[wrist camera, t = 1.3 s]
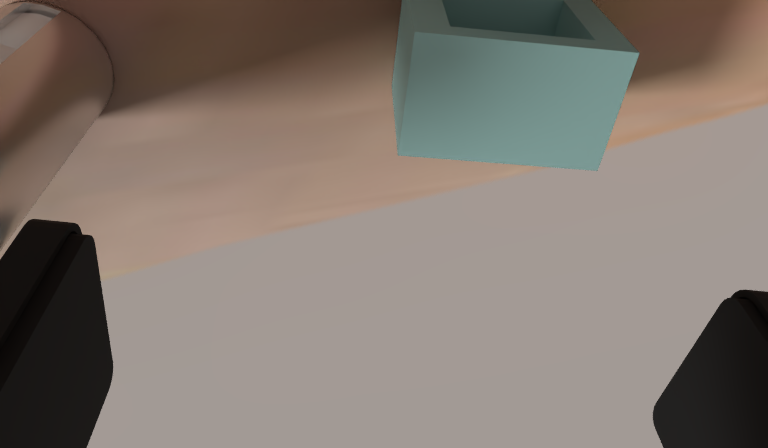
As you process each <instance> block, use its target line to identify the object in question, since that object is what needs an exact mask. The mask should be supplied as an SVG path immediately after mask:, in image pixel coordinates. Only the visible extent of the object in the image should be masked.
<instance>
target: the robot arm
mask: <svg viewBox="0 0 768 448" xmlns="http://www.w3.org/2000/svg"><path fill="white" fill-rule="evenodd" d="M112 374H113V360H112V354H111V347H110V341H109V334H108V327H107V320H106V314H105V307H104V300H103V294H102V287H101V281H100V274H99V267H98V261H97V254H96V248H95V242H94V239H93V237H92V236H90V235H82V233H81V229H80V227H79V226H78V224H76V223H69V222H59V221H49V220H39V219H32V220H29V221H28V222H27V223H26V224H25V225H24V226H23V228H22V229H21V231H20V232H19V234H18V235H17V236H16V238H15V239H14V241H13V242H12V244H11V245H10V246H9V248H8V249H7V251H6V252H5V254H4V255H3V257H2V258H1V259H0V448H86V447H87V445H88V442H89V440H90V437H91V435H92V432H93V429H94V427H95V424H96V421H97V419H98V417H99V414H100V411H101V409H102V406H103V404H104V401H105V399H106V396H107V393H108V391H109V388H110V385H111V380H112ZM653 421H654V426H655V429H656V431H657V434H658V436H659V438H660V440H661V443H662V445H663V447H664V448H768V292H763V291H753V290H739V291H737V292H735V293H734V294H733V295H732V296H731V298H727V299H726V300H724V301H723V302H722V303H721V304H720V306H719V307H718V309H717V310H716V312H715V314H714V315H713V317H712V318H711V320H710V321H709V323H708V324H707V326H706V327H705V329H704V330H703V332H702V333H701V335H700V336H699V338H698V340H697V341H696V343H695V344H694V346H693V347H692V349H691V350H690V352H689V353H688V355H687V356H686V358H685V360H684V361H683V363H682V364H681V366H680V367H679V369H678V370H677V372H676V373H675V375H674V376H673V378H672V379H671V381H670V382H669V384H668V386H667V387H666V389H665V390H664V392H663V393H662V395H661V396H660V398H659V399H658V401H657V403H656V405H655V406H654V411H653Z"/></svg>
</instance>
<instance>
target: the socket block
mask: <svg viewBox="0 0 768 448" xmlns="http://www.w3.org/2000/svg"><path fill="white" fill-rule="evenodd" d="M638 56H639V52H638V51H637V50H636V48H635V47H634V46H633V45H632V44H631V43H630V42H629V41H628V40H627V39H626V38H625V37H624V35H623V34H622V33H621V32H620V31H619V30H618V29H617V28H616V27H615V26H614V25H613V23H612V22H611V21H610V20H609V19H608V18H607V17H606V16H605V15H604V14H603V13H602V11H601V10H600V9H599V8H598V7H597V6H596V5H595V4H594V3H593V2H592V1H591V0H402V5H401V13H400V21H399V30H398V38H397V46H396V54H395V63H394V71H393V79H392V94H393V105H394V117H395V128H396V140H397V151H398V155H400V156H413V157H426V158H438V159H451V160H464V161H477V162H490V163H503V164H516V165H529V166H542V167H555V168H568V169H582V170H594V171H597V170H598V168H599V165H600V162H601V159H602V157H603V154H604V151H605V148H606V146H607V143H608V140H609V137H610V134H611V132H612V129H613V126H614V123H615V120H616V118H617V115H618V112H619V109H620V106H621V104H622V101H623V98H624V95H625V92H626V90H627V87H628V84H629V81H630V78H631V76H632V73H633V70H634V67H635V64H636V62H637V59H638Z"/></svg>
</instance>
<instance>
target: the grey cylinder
mask: <svg viewBox="0 0 768 448" xmlns="http://www.w3.org/2000/svg"><path fill="white" fill-rule="evenodd" d="M113 84H114V76H113V69H112V64H111V61H110V59H109V56H108V54H107V51H106V49H105V48H104V46H103V45H102V43H101V42H100V41H99V39H98V38H97V36H96V35H95V34H94V33H93V32H92V31H91V30H90V29H89V28H88V27H87V26H86V25H85V24H84V23H83V22H81V21H80V20H79V19H77V18H76V17H74V16H72V15H71V14H69V13H67V12H66V11H64V10H62V9H59V8H56V7H53V6H51V5H48V4H45V3H37V2H28V1H24V2H18V3H11V4H7V5H5V6H3V7H1V8H0V251H1V250H2V249H3V247H4V246H5V244H6V243H7V242H8V240H9V239H10V238H11V236H12V235H13V233H14V232H15V231H16V229H17V228H18V226H19V225H20V224H21V222H22V221H23V220H24V218H25V217H26V215H27V214H28V213H29V211H30V210H31V209H32V207H33V206H34V204H35V203H36V202H37V200H38V199H39V197H40V196H41V195H42V193H43V192H44V191H45V189H46V188H47V186H48V185H49V184H50V182H51V181H52V180H53V178H54V177H55V175H56V174H57V173H58V171H59V170H60V168H61V167H62V166H63V164H64V163H65V162H66V160H67V159H68V157H69V156H70V155H71V153H72V152H73V150H74V149H75V148H76V146H77V145H78V144H79V142H80V141H81V139H82V138H83V137H84V135H85V134H86V133H87V131H88V130H89V128H90V127H91V126H92V124H93V123H94V121H95V120H96V119H97V117H98V116H99V115H100V113H101V112H102V110H103V109H104V108H105V106H106V104H107V102H108V101H109V99H110V97H111V95H112V89H113Z"/></svg>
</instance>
